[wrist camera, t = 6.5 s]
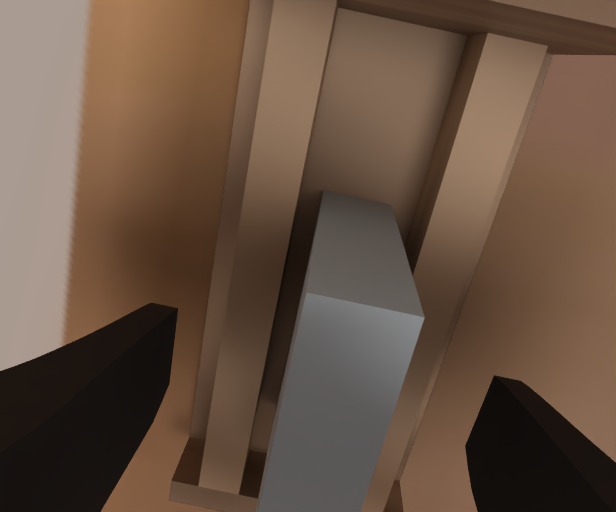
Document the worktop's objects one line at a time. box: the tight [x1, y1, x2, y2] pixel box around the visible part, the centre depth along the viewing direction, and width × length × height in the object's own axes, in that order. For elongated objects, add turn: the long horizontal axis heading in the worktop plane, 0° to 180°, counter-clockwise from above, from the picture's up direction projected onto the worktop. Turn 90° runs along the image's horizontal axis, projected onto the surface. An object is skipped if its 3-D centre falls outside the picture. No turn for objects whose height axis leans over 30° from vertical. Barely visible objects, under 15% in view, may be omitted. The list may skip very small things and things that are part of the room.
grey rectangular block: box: [256, 190, 425, 512], centre depth 12 cm, size 7×2×6 cm, turn 169°
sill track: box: [169, 0, 616, 512], centre depth 11 cm, size 16×7×7 cm, turn 169°
